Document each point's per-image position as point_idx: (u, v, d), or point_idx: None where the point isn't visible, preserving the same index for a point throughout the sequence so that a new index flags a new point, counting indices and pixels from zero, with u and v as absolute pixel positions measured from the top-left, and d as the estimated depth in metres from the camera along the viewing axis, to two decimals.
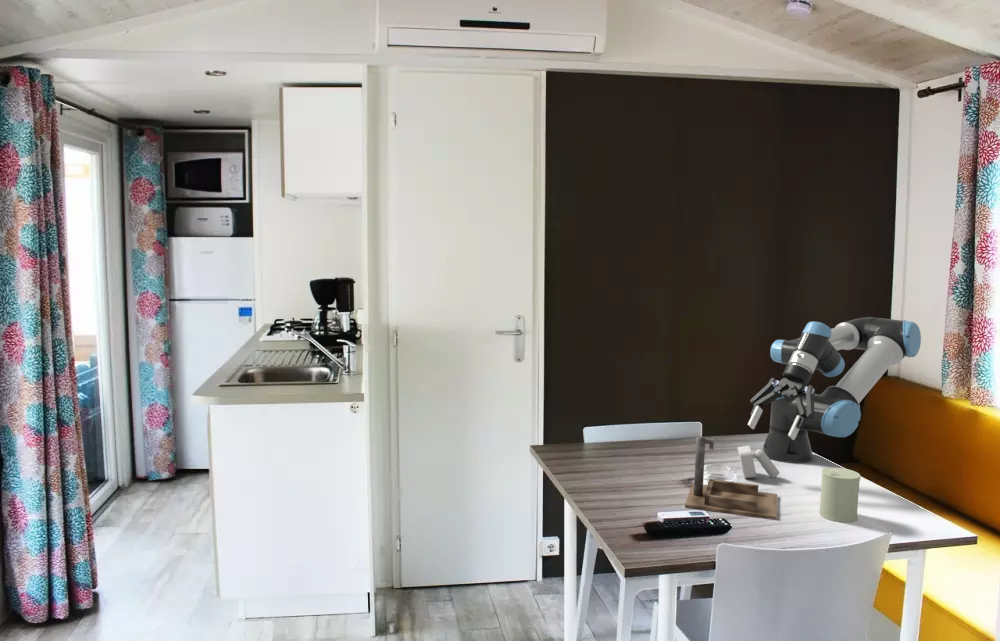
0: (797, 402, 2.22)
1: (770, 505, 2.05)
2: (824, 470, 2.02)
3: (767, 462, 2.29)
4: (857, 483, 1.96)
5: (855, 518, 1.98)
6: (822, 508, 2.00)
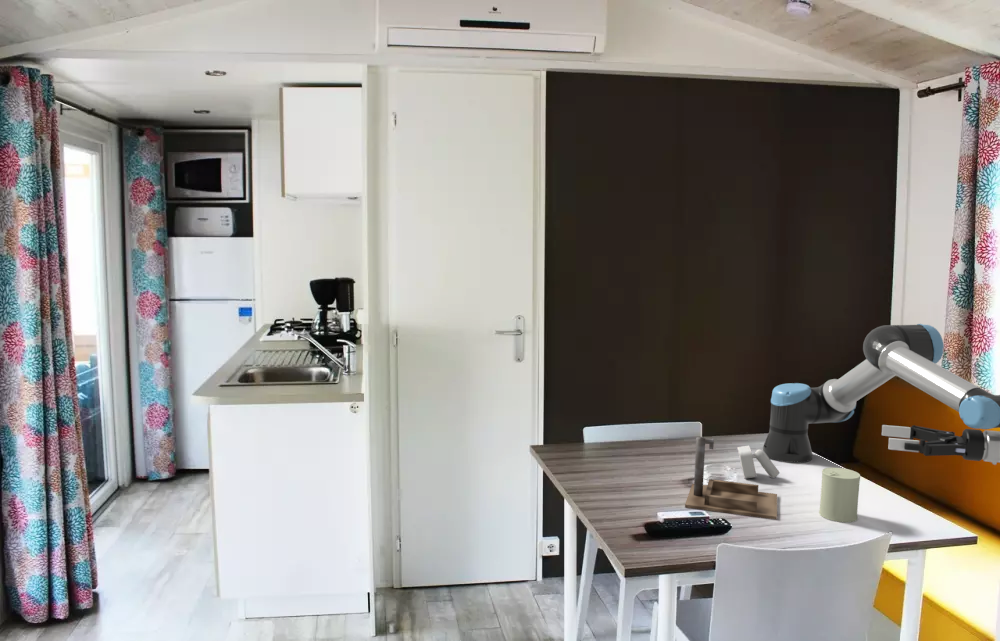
0: None
1: (770, 505, 2.05)
2: (824, 470, 2.02)
3: (767, 462, 2.29)
4: (857, 483, 1.96)
5: (855, 518, 1.98)
6: (822, 508, 2.00)
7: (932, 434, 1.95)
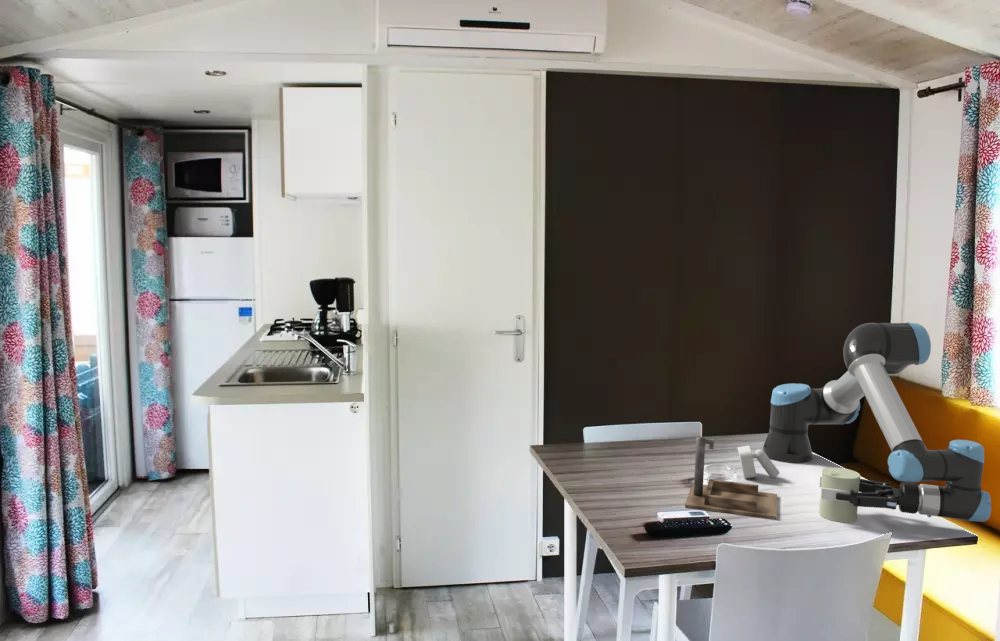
0: None
1: (770, 505, 2.05)
2: (824, 470, 2.02)
3: (767, 462, 2.29)
4: (857, 483, 1.96)
5: (855, 518, 1.98)
6: (822, 508, 2.00)
7: (870, 486, 2.00)
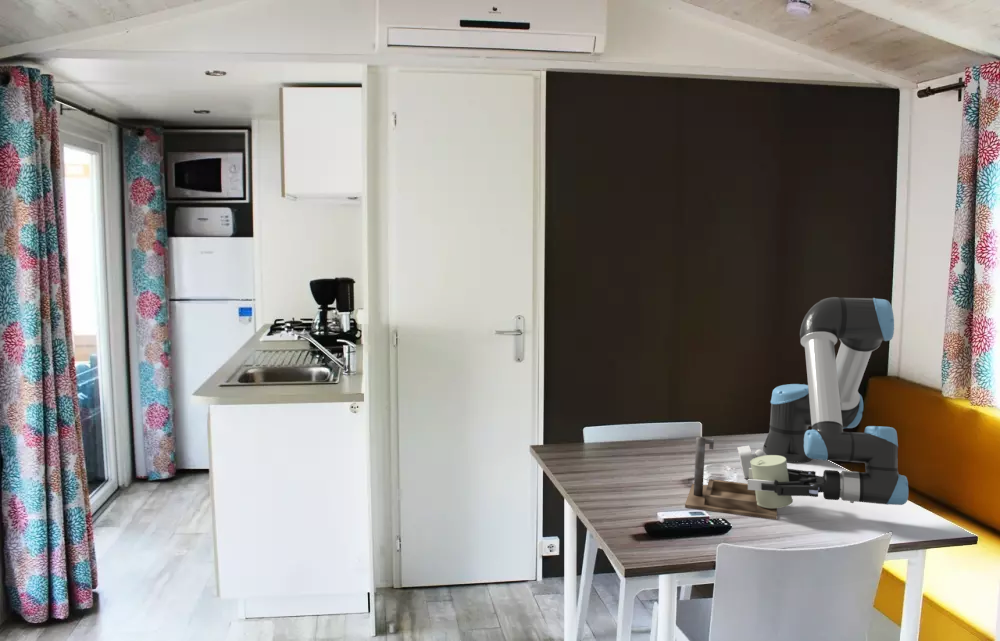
0: None
1: None
2: (752, 460, 2.06)
3: None
4: (784, 467, 2.01)
5: (790, 501, 2.02)
6: (757, 498, 2.05)
7: (795, 476, 2.05)
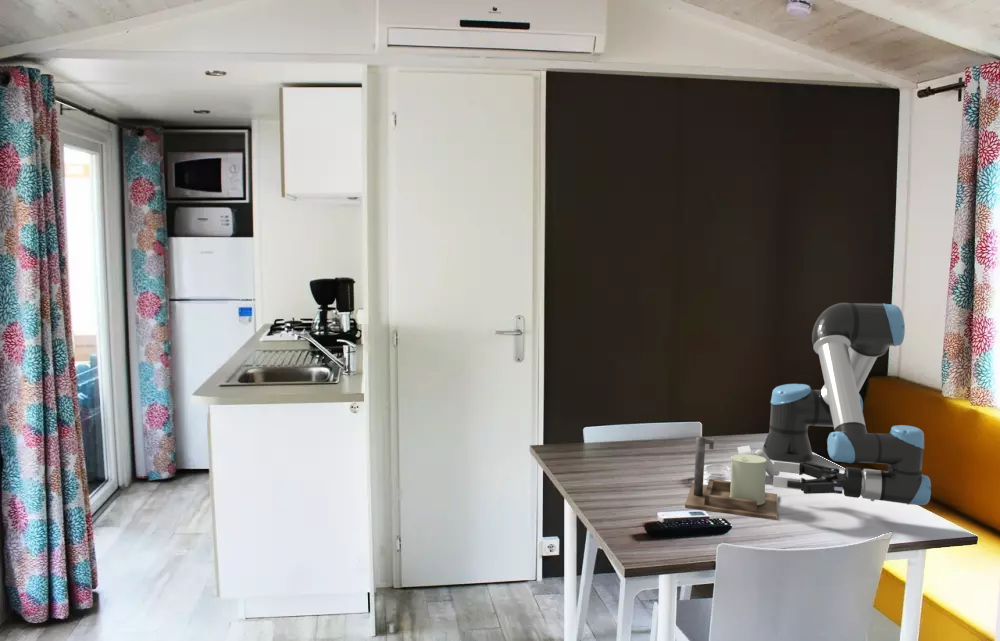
0: None
1: (770, 505, 2.05)
2: (733, 457, 2.08)
3: (767, 462, 2.29)
4: (765, 466, 2.05)
5: (764, 500, 2.06)
6: (734, 494, 2.07)
7: (818, 471, 2.05)
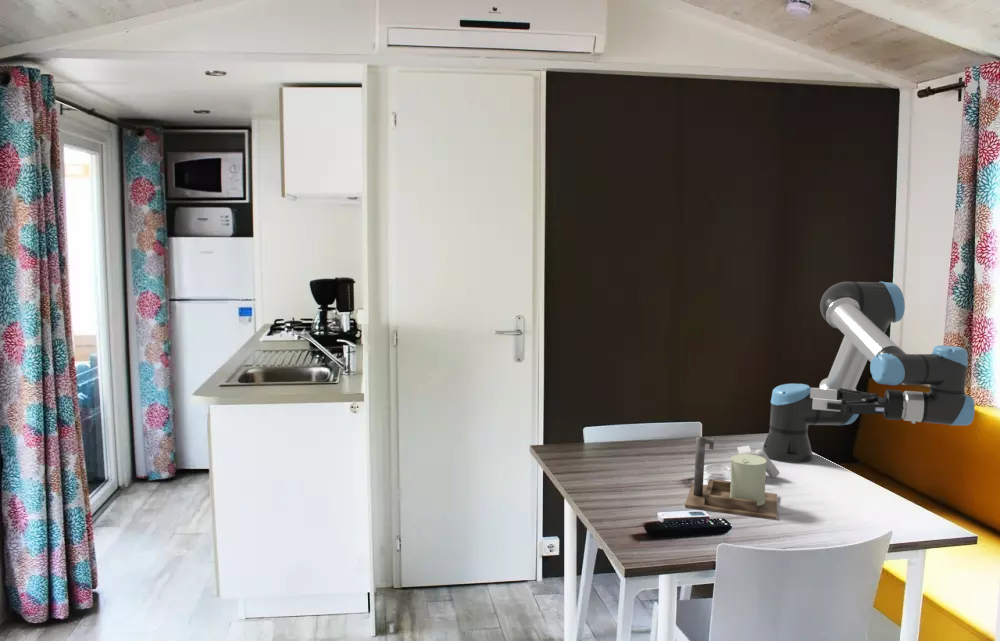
0: None
1: (770, 505, 2.05)
2: (733, 459, 2.07)
3: (767, 462, 2.29)
4: (765, 467, 2.05)
5: (764, 500, 2.07)
6: (736, 496, 2.06)
7: (856, 395, 2.02)
